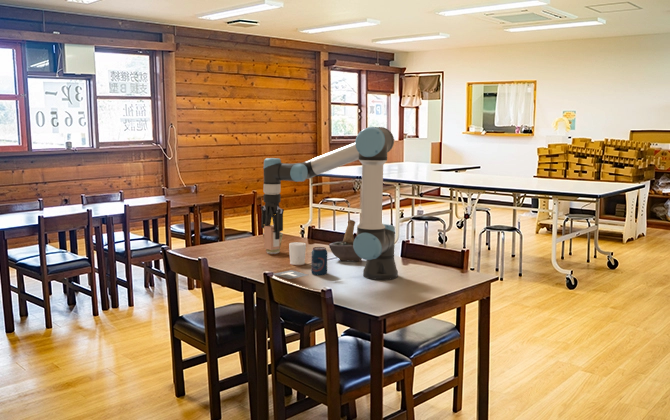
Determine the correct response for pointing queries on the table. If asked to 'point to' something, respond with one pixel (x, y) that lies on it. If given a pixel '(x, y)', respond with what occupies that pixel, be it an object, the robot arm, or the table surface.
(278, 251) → the ceramic cup
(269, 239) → the block
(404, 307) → the table surface
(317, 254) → the soda can
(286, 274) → the mat
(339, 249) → the mortar and pestle
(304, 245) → the white cup
